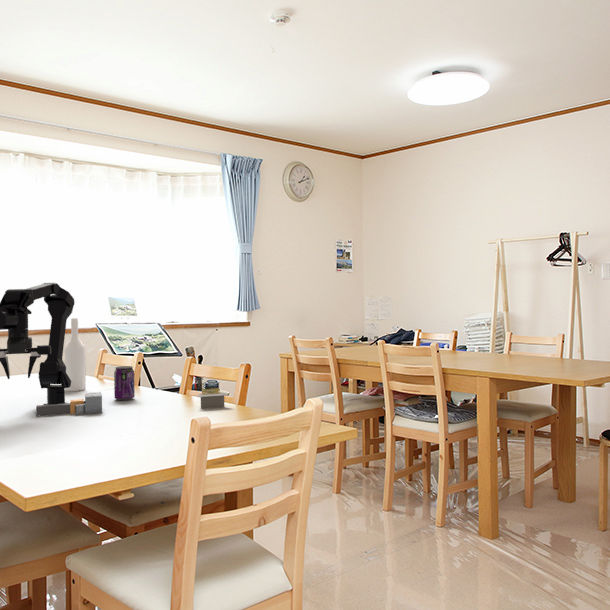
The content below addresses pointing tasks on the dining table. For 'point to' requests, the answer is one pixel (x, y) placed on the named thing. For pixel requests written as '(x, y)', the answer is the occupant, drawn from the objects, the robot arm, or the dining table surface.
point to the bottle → (75, 359)
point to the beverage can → (124, 383)
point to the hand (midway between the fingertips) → (18, 378)
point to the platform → (212, 398)
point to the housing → (90, 404)
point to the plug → (58, 408)
